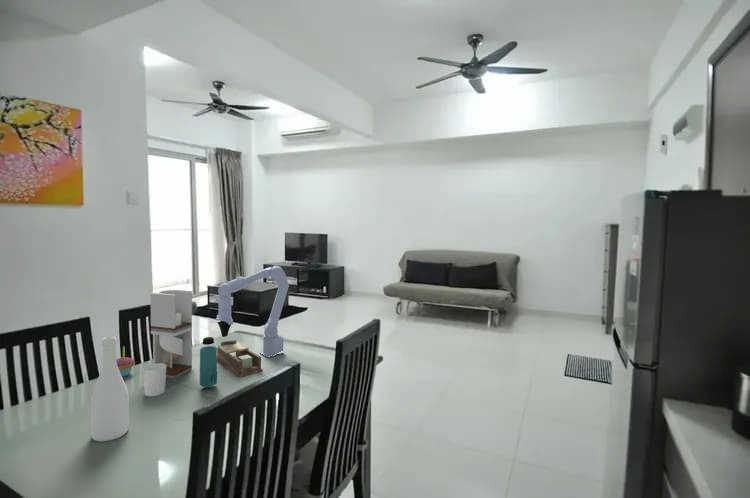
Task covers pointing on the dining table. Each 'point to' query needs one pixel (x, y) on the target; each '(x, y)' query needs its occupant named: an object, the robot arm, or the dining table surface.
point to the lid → (232, 346)
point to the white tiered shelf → (172, 330)
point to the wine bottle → (109, 398)
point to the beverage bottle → (208, 363)
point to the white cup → (154, 379)
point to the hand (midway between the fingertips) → (224, 336)
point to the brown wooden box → (239, 362)
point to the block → (245, 361)
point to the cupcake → (125, 364)
